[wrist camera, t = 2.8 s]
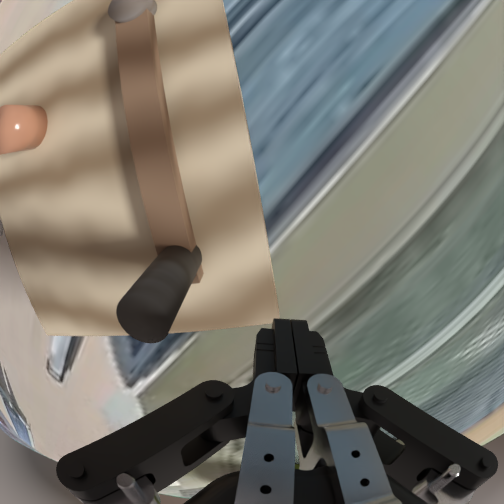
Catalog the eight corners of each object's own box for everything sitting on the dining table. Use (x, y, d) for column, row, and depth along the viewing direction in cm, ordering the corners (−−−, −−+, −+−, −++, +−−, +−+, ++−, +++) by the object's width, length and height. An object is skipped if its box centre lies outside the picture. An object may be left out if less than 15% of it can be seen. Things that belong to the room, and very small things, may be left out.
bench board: (-3, 69, 16) (-14, 68, 14) (213, -41, 13) (210, -53, 11) (55, 326, 27) (47, 335, 25) (278, 308, 24) (279, 321, 23)
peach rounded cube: (18, 116, 16) (-12, 117, 13) (45, 98, 16) (14, 95, 12) (22, 155, 18) (-8, 161, 14) (50, 140, 18) (18, 143, 14)
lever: (119, 6, 13) (62, -35, 6) (155, -8, 13) (109, -61, 5) (169, 278, 21) (127, 345, 13) (207, 272, 20) (180, 343, 13)
